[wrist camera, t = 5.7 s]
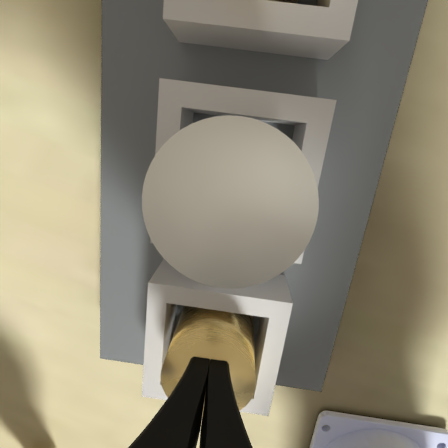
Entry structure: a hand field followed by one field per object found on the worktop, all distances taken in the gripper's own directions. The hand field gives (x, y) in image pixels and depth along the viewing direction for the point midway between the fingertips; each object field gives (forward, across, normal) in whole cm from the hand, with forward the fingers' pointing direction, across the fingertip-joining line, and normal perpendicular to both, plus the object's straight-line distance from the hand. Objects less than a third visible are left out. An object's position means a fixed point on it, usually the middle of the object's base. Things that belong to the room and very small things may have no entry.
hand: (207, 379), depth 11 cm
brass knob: (+4, 0, 0) cm, 4 cm away
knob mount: (+6, 0, -8) cm, 10 cm away
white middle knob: (+1, 0, -8) cm, 8 cm away
